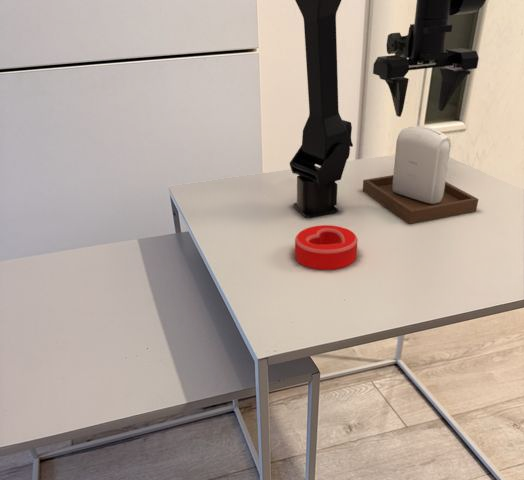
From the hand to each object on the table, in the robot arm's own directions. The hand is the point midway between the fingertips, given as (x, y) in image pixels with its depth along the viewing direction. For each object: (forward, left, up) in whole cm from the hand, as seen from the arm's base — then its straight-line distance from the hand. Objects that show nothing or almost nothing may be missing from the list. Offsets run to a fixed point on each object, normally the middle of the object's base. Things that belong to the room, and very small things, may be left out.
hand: (419, 113), depth 103 cm
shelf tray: (-5, -10, -13) cm, 17 cm away
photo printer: (-5, -10, -12) cm, 17 cm away
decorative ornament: (-30, -24, -13) cm, 41 cm away
